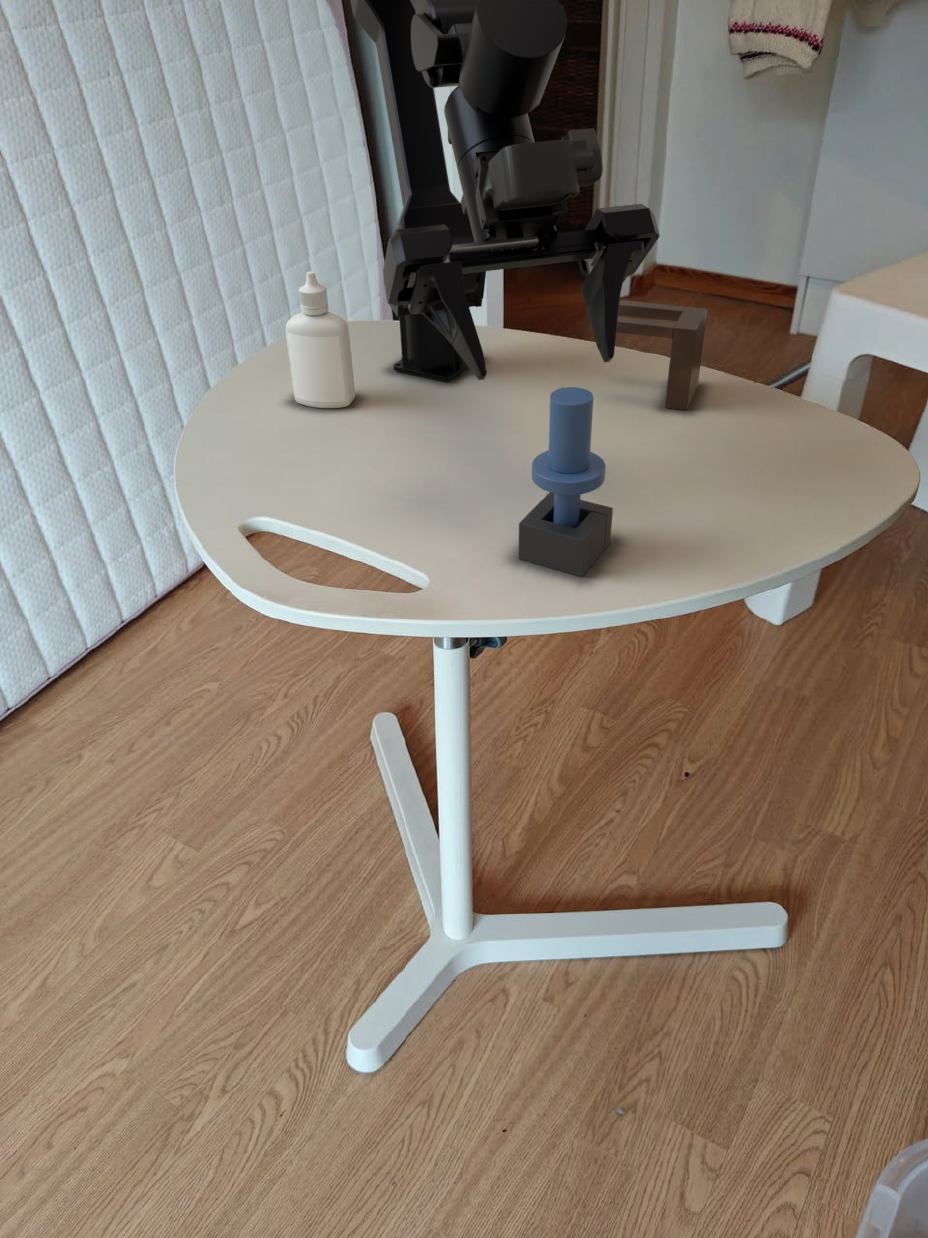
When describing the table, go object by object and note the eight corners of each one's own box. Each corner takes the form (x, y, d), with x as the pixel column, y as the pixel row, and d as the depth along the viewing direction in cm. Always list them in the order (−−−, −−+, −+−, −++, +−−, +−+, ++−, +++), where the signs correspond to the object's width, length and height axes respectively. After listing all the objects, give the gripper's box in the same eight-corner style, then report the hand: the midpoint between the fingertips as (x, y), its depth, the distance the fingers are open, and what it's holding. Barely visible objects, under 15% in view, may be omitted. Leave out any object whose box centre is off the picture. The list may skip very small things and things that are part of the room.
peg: (518, 558, 70) (519, 402, 63) (548, 526, 73) (553, 374, 66) (582, 577, 68) (591, 418, 61) (610, 543, 71) (622, 388, 64)
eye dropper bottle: (327, 417, 90) (312, 285, 82) (288, 400, 93) (270, 272, 85) (362, 401, 92) (350, 272, 85) (323, 385, 95) (308, 260, 88)
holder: (518, 558, 70) (518, 522, 68) (548, 526, 73) (549, 491, 72) (582, 577, 68) (584, 540, 66) (610, 543, 71) (613, 507, 70)
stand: (601, 399, 91) (606, 320, 87) (616, 376, 95) (621, 299, 91) (686, 410, 89) (696, 329, 84) (697, 386, 93) (707, 308, 88)
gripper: (378, 93, 59) (432, 332, 57) (661, 71, 63) (720, 295, 61) (364, 199, 70) (409, 404, 68) (606, 176, 74) (655, 369, 72)
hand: (546, 368), depth 67 cm, fingers open, 9 cm apart
